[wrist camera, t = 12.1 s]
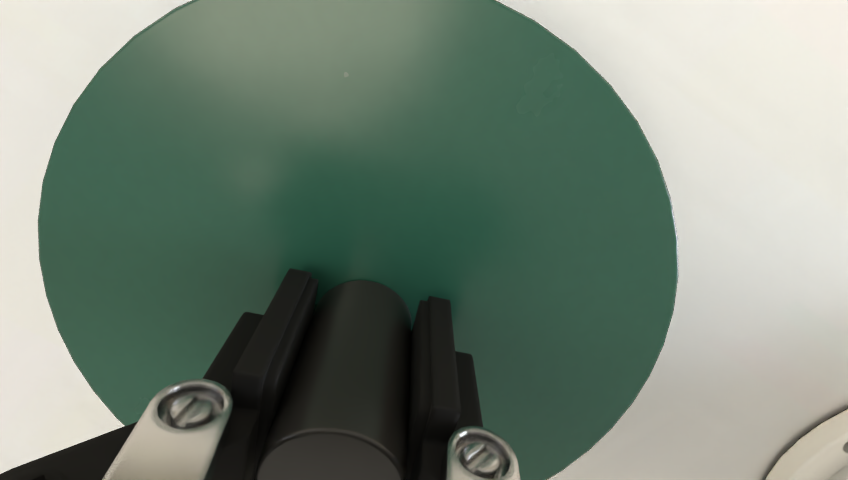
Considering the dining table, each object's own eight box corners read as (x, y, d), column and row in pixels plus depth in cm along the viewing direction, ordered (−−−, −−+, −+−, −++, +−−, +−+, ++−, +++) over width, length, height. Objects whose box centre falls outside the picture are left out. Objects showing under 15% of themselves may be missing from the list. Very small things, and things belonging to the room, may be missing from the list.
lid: (-39, -14, 10) (-576, -59, 5) (718, -43, 10) (1078, -126, 5) (160, 500, 17) (33, 730, 12) (616, 488, 17) (711, 716, 11)
